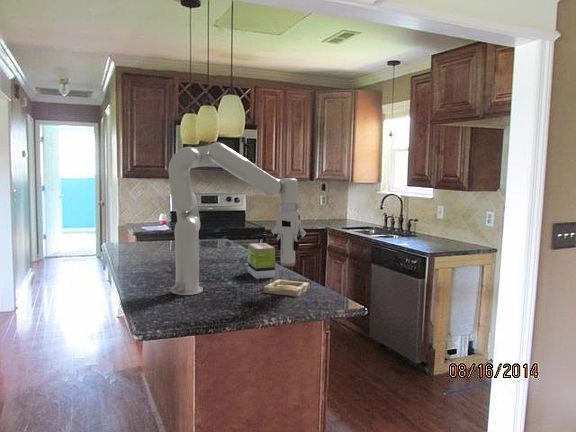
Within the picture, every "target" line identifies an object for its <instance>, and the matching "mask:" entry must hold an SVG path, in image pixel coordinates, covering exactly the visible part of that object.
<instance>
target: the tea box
mask: <svg viewBox="0 0 576 432" xmlns="http://www.w3.org/2000/svg"><path fill="white" fill-rule="evenodd" d="M247 273H249V275H251V276H253V277H254V278H255V279H256V280H257V279H259V280H260V278H261V279H270V278H276V248H275V247H274V246H272V245H270V244H268V243H267V242H261V243H260V242H259V243H247Z"/></svg>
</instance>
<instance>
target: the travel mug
mask: <svg viewBox="0 0 576 432" xmlns="http://www.w3.org/2000/svg"><path fill="white" fill-rule="evenodd" d="M281 227H282V228H281V250H280V265H281V266H282V267H283V266H284V267H294V266H296V251H294V241H295V239H294V237H293V234H292V230H291V222H286V221H283V220H282V226H281Z"/></svg>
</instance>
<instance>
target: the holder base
mask: <svg viewBox="0 0 576 432" xmlns="http://www.w3.org/2000/svg"><path fill="white" fill-rule="evenodd" d="M310 284H311V283H310V282H307V281H298V280H297V281H296V280H287V279H280V278H279V279H276V280H274V281H273V282H271V283H269V284H266V285H265V286H263V293H265V294H266V293H267V294H271V295H273V294H274V295H282V296H289V297H299V296H301V295H302V294H304V293H305V292H307V291H308V290H310V289H311V288H310V287H311V285H310Z"/></svg>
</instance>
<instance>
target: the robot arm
mask: <svg viewBox="0 0 576 432" xmlns="http://www.w3.org/2000/svg"><path fill="white" fill-rule="evenodd" d="M211 165H217V166H219V167H220V168H222V169H224V170H225V171H227V172H229V173H230V174H231V175H232V176H234V177H236V178H237V179H239V180H241V181H243V182H245V183H247V184H249V185H251V186H252V187H253V188H255V189H257V190H258V191H260V192H261V193H263V194H265V195H266V196H268V197H275V196H277V195H279V210H277V215H276V224H275V226H274V227H273V228H272V229H271V230H270V232H271V233H272V234H273V236H274V237H275V238H276V240H277V248H278V250H279V251H281V228H282V227H281V226H282V220H283V221H286V222H291V230H292V234H293V237H294V239H295V241H294V251H295V252H297V251H298V250H299V247H300V245H299V244H300V243H299V242H300V240H301V239H302V238H304V236H305V235H306V234H307V232H306V230H304V228H303V227H302V220H301V219H302V218H301V213H300V211H299V209H301V205H299V201H298V200H299V199H298V197H299V196H298V195H299V194H298V193H299V192H298V191H299V185H298V184H299V183H298V179H296V178H293V177H292V178H291V177H289V178H288V177H285V178H276V177H274V176H272V175H271V174H269V173H267V172H266V171H264V170H263V169H262V168H260V167H258V166H257V165H256V164H254V163H253V162H252V161H250V160H249V159H248V158H246V157H244V156H243V155H241V154H240V153H238V152H236V151H235V150H234V149H232V148H230V147H229V146H227V145H226V144H224V143H222V142H219V141H216V142H213V143H211V144H207V145H201V146H197V147H195V146H194V147H192V146H184V147H183V148H181V149H179V150H177V152H175V153H174V154H173V155H172V157H171V159H170V161H169V164H168V180H169V188H170V194H171V205H172V207H173V209H174V211H175V213H176V218H177V219H176V220H177V221H176V222H175V226H174V245H175V248H174V249H175V250H174V252H175V282H174V286H170V287H169V291H170V292H171V293H172V294H174V295H177V296H193V295H197V294H200V293H203V291H204V290H203V289H204V288H203V287H202V286H200V255H199V254H200V252H199V251H200V241H199V239H200V238H199V235H200V234H199V231H200V229H201V220H200V212H199V206H198V200H197V196H196V195H195V193H194V192H193V188H192V187H193V186H192V179H191V175H190V173H191V169H195V168H200V167H206V166H211Z"/></svg>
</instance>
